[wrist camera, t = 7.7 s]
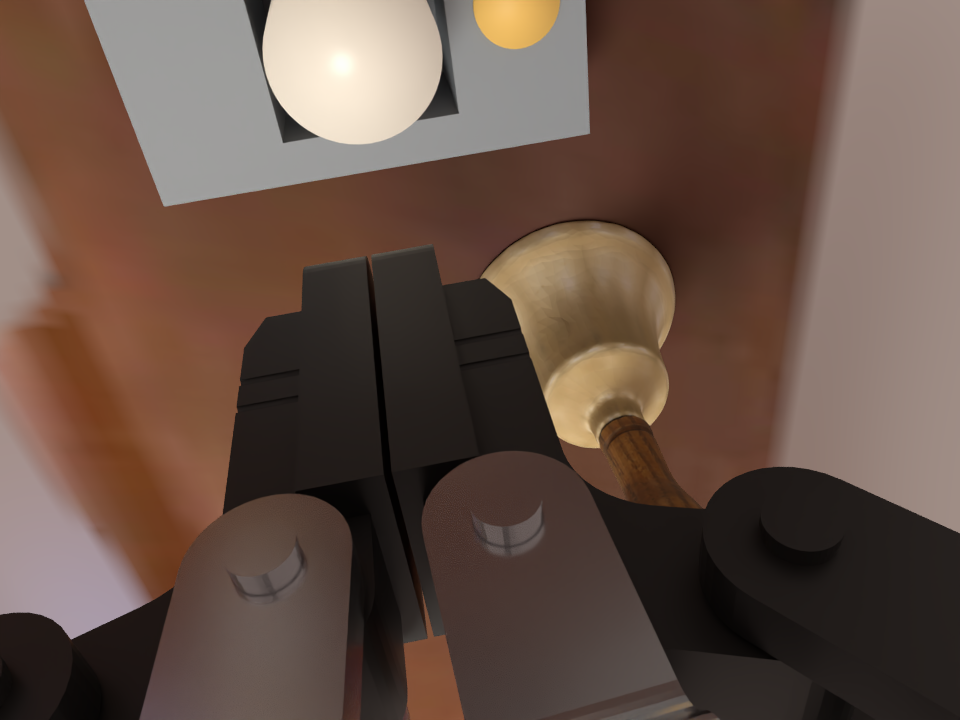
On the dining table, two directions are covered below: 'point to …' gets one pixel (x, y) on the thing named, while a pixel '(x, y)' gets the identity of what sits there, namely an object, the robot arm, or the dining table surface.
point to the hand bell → (598, 343)
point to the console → (293, 149)
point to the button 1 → (352, 65)
